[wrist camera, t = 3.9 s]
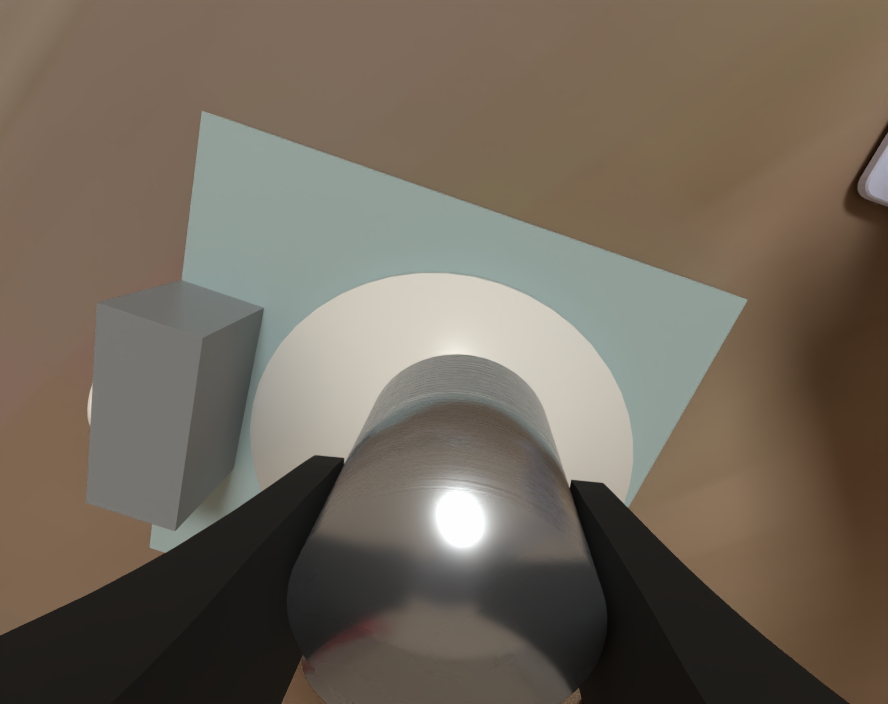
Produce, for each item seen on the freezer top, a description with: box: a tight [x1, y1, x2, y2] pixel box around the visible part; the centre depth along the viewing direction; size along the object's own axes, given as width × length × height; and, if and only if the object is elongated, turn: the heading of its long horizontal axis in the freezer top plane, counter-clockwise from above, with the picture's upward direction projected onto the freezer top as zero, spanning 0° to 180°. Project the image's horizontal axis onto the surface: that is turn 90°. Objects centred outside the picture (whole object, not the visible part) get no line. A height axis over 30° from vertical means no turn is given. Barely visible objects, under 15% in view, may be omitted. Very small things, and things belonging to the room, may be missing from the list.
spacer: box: [287, 354, 608, 704], centre depth 9 cm, size 4×4×5 cm
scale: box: [86, 111, 747, 553], centre depth 16 cm, size 18×18×5 cm
